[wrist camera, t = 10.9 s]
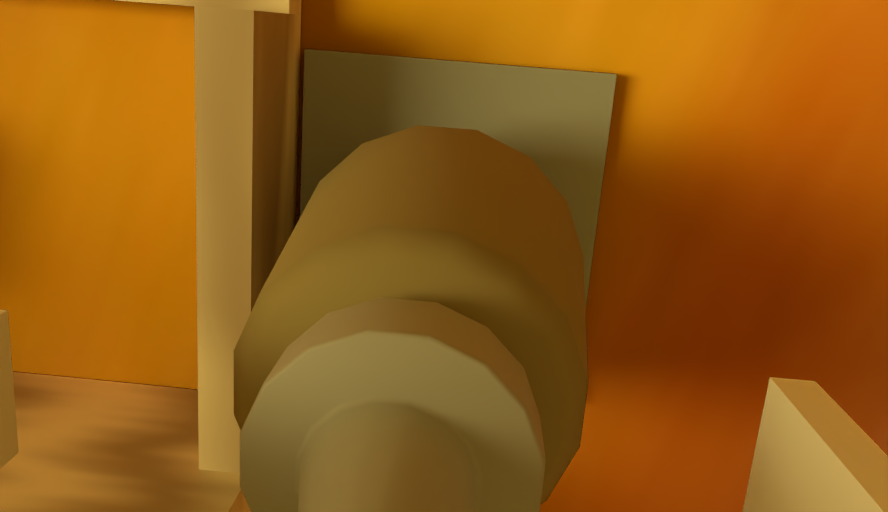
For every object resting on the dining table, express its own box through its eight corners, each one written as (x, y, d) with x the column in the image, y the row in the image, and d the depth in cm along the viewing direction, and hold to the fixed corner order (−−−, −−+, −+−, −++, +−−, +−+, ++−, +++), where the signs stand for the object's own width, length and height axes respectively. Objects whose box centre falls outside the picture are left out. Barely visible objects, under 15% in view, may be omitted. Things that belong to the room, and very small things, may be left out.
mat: (299, 373, 28) (295, 379, 27) (308, 49, 25) (304, 49, 24) (571, 399, 27) (572, 406, 27) (614, 73, 24) (616, 74, 24)
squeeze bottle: (420, 56, 24) (242, 115, 7) (623, 218, 25) (917, 630, 8) (271, 256, 26) (-160, 695, 9) (465, 399, 27) (418, 1046, 10)
